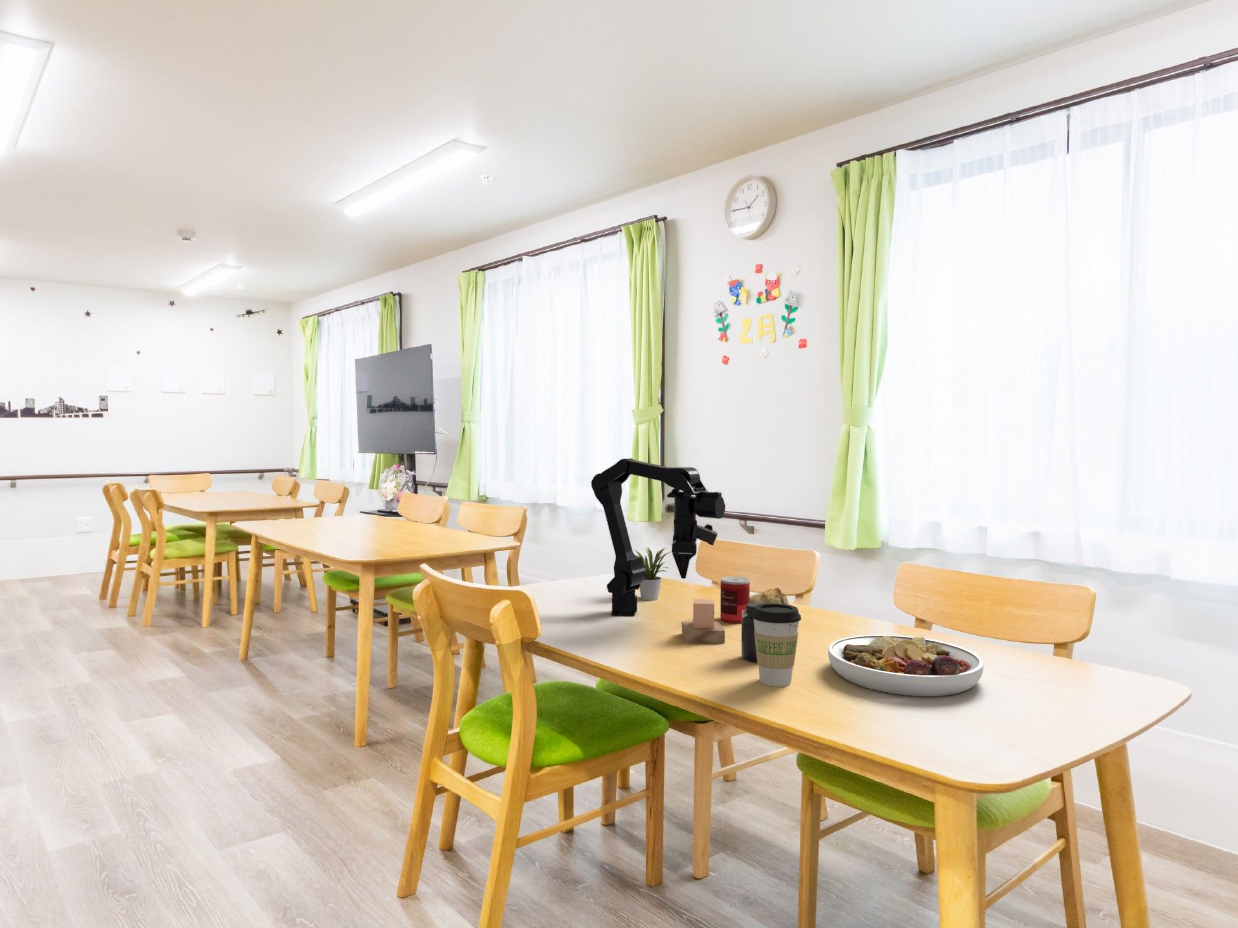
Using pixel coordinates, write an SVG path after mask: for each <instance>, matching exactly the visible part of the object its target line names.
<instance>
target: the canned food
mask: <svg viewBox="0 0 1238 928" xmlns="http://www.w3.org/2000/svg"><path fill="white" fill-rule="evenodd" d="M750 587H751V585H750V579H749V578H747V577H743V576H724V577H722V578H720V607H719V608H720V612H719V613H720V614H719V615H720V620H721V621H722V622H724V623H726V624H727V623H729V624H741V622H742V619H743V617H744V616H746V615H747V613H746V604H749V600H750V597H751V596H750V593H751V592H750V591H751V588H750Z"/></svg>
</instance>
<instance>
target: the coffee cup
mask: <svg viewBox="0 0 1238 928" xmlns="http://www.w3.org/2000/svg"><path fill="white" fill-rule="evenodd" d="M751 617H752V618H753V619H754V627H755V630H754V635H755V644H756V654H757V662H756V663H757V666H758V674H759V676H758V677H759V682H760V683H761V684H762V685H765V686H769V687H774V688H775V687H776V688H778V687H779V688H781V687H787V686H790V685H791V684H792V678H793V669H794V666H795V663H796V662H795V661H796V655H797V654H796V653H797V647H798V646H797V645H798V637H799V631H798V630H799V624H800V622H801V620H802V615H801V614H800V613H799V608H798V607H796V606H795V605H790V604H789V605H787V604H778V603H766V604H759V605H756V606H755V609H754V611H753V612H752V616H751Z"/></svg>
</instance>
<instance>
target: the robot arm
mask: <svg viewBox="0 0 1238 928" xmlns="http://www.w3.org/2000/svg"><path fill="white" fill-rule="evenodd" d="M631 475H633V476H638V477H642V478H646V479H650V480H655V481H659V482H662V483H664V484H666V486H668V487H671V488H672V489H671V491H670V492H668V493H667V494H666V497H667V498H670V499H671V498H672V499H674V501H673V535H672V542H671V555H672V557H673V559H674V563H675V566H676V567H677V570H678V573H679V576H680V578H681V579H683V580H684V579H686V578H687V574H688V570H689V569H688V568H689V565H690V560H692V558H693V557H695V556H696V555H697V553H698V552H697V550H698V549H697V544H698V543H697V541H698V540H700V541H702V542H704V543H707V544H708V545H710V546H714V545H715V542H716V540H717V537H718V532H717V531H716V530H713V529H714V528H713V525H711V524H709V523H706V524H705V525H704V526H703V525H700V524H698V520H697V516H698V517H700V518H708V519H715V520H717V519H718V520H720V519H722V518H723V517H724V515H725V512H726V503H725V500H724V498H723V495H722V492H721V491H709V490H708V489H707V486H705V484H704V482H703V480H702V479H701V476H700V472H699V471H698V469H697V468H695V467H690V466H689V467H687V466H685V467H684V466H680V467H679V466H665V465H659V464H655V463H650V462H646V461H641V460H637V459H634V458H630V457H629V458H621V459H619V460H618V461H617V462H615V463H614V464H613V465H611V466H610V467H608V468H607V469H605V470H603V471H602V472H601V473H600V472H599V473H596V474H594V476H593V478H592V480H591V481H590V483H591V485H590V486H591V489H592V491H593V493H594V496H595V498H596V499H597V500H598V502H599V503H600V505H602V507H603V511H604V516H605V519H606V522H607V527H608V531H609V534H610V535H609V536H610V539H611V543H612V547H613V551H614V555H615V559H614V564H613V575H614V577H613V578H612V579H611V580H610V581H608V583H607V584H606V588H607V589H606V590H607V593H610V594H611V612H610V615H611V616H626V617H628V616H633V617H634V616H635V615H636V613H637V612H638V595H636V591H638V590H640V588H639V587H640V584H641V583H642V582H643V580H644V578H645V571H646V569H645V568H644V565H643V559H642V557H638V558H637V557H636V556H637V555H636V554H635V553H634V550H633V547H632V545H631V540H630V535H629V531H628V528H627V525H626V524H627V523H626V521H625V520H626V519H625V515H624V513H623V509H622V504H621V500H622V497H623V496H622V495H623V488H622V487H623V486H622V485H623V484H624V483H625V482H627V480H628V479H629V477H630V476H631ZM635 555H636V556H635Z"/></svg>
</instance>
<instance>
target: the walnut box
mask: <svg viewBox="0 0 1238 928" xmlns="http://www.w3.org/2000/svg"><path fill="white" fill-rule="evenodd" d="M681 635H682V637H683V639H684V641H685V642H686V644H687V645H689V644H690V645H694V644H695V645H696V644H700V645H701V644H705V645H706V644H725V643H726V640H725V639H726V630H725V629H724V627H723V626H722V625H721V623H720V621H715V620H714V629H703V628H693V620H692V621H690V620H687V621H681Z"/></svg>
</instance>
